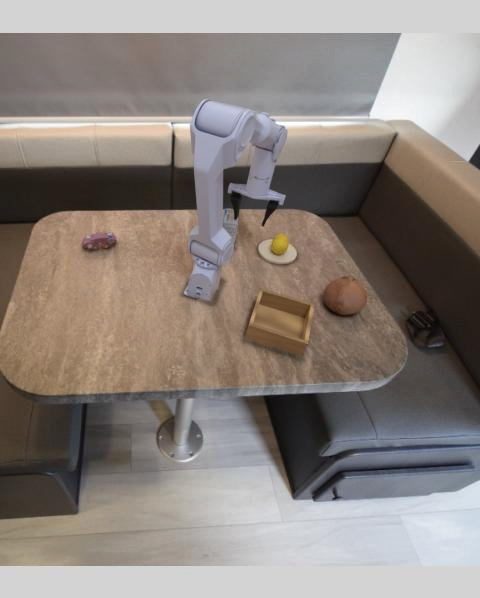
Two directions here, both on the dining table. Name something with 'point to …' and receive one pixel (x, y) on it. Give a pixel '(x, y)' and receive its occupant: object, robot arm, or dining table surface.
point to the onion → (345, 296)
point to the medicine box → (230, 223)
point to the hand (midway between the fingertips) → (249, 221)
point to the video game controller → (99, 240)
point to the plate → (270, 256)
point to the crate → (281, 322)
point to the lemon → (280, 244)
